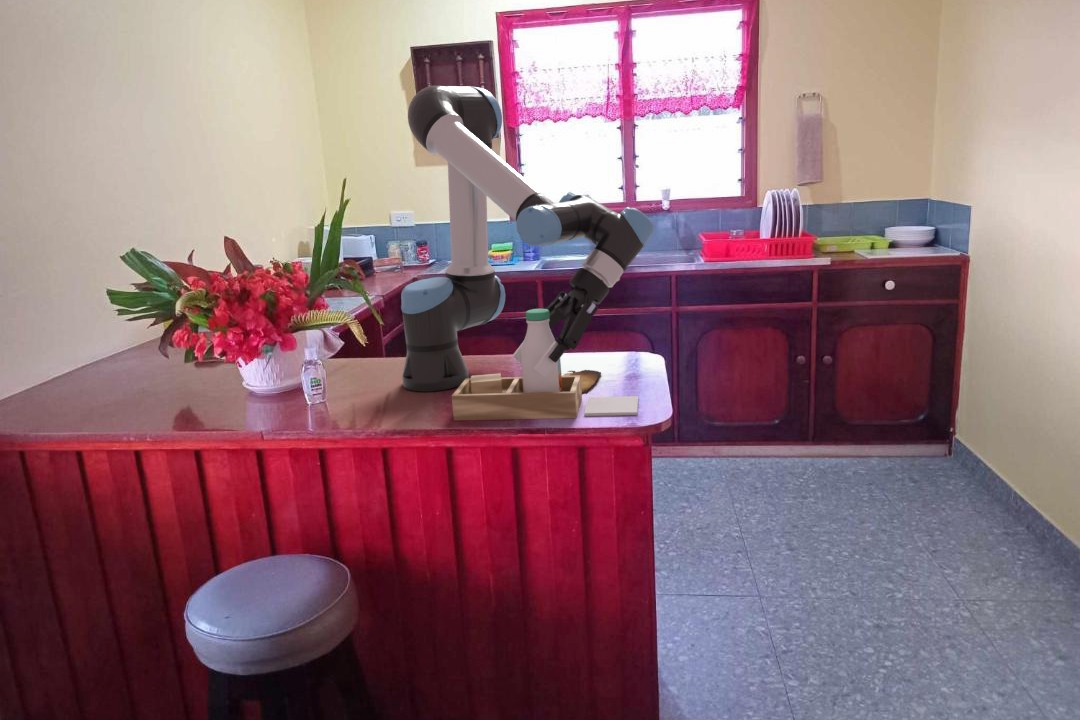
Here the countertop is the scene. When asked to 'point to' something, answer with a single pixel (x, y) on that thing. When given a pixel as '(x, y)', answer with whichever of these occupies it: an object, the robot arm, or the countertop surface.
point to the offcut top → (486, 384)
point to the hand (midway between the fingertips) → (527, 366)
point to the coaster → (612, 406)
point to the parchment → (586, 378)
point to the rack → (518, 401)
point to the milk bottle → (538, 354)
